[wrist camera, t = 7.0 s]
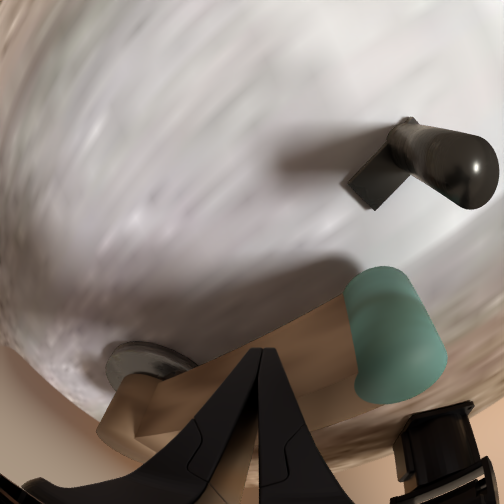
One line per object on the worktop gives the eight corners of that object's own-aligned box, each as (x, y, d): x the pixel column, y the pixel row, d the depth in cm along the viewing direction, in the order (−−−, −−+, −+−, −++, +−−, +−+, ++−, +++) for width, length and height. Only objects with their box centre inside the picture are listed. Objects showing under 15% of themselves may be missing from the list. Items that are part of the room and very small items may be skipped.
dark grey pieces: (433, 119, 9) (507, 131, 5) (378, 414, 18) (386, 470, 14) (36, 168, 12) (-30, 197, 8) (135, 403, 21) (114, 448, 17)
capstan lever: (161, 420, 19) (143, 467, 15) (110, 382, 18) (85, 430, 14) (424, 312, 12) (457, 385, 8) (382, 230, 10) (425, 300, 6)
